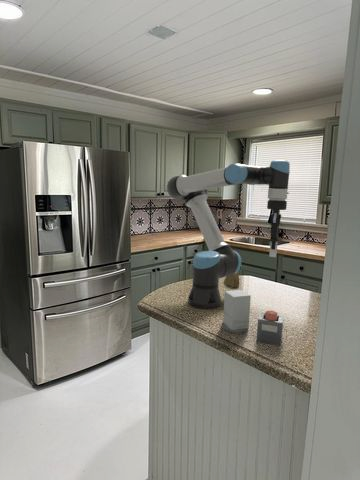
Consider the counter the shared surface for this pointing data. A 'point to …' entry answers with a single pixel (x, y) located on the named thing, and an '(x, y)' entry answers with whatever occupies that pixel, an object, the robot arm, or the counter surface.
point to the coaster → (234, 330)
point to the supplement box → (236, 309)
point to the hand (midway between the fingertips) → (272, 256)
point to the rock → (232, 280)
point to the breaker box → (270, 329)
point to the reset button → (271, 315)
